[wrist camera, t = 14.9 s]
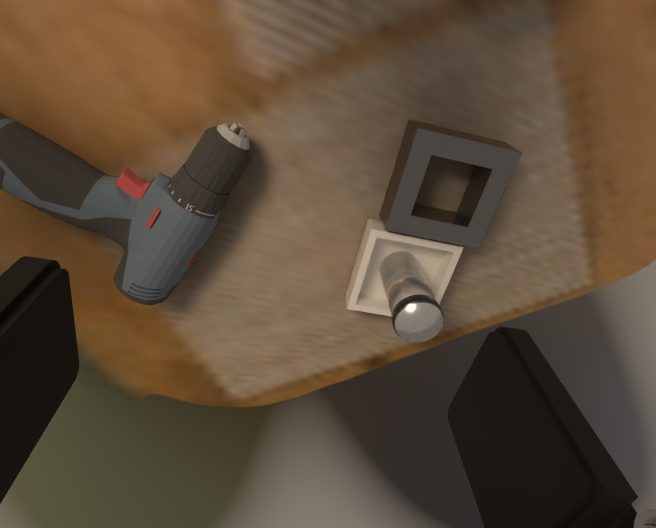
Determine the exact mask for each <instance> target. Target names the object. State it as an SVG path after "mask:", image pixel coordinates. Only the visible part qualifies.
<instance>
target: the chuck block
mask: <svg viewBox="0 0 656 528" xmlns="http://www.w3.org/2000/svg"><path fill="white" fill-rule="evenodd" d="M521 154H522V152H520V151H519V150H517V149H515V148H514V147H512V146H510V145H509V144H507V143H505V142H501V141H497V140H493V139H489V138H485V137H480V136H476V135H472V134H468V133H464V132H459V131H455V130H451V129H447V128H443V127H439V126H434V125H430V124H426V123H422V122H418V121H413V120H409V122H408V125H407V128H406V131H405V134H404V138H403V141H402V144H401V147H400V151H399V154H398V157H397V160H396V163H395V167H394V170H393V173H392V176H391V180H390V183H389V186H388V189H387V192H386V196H385V199H384V202H383V205H382V209H381V212H380V218H381V220H382V223H383V226H384V229H385V230H388V231H393V232H398V233H403V234H408V235H413V236H418V237H423V238H428V239H433V240H438V241H443V242H448V243H453V244H458V245H463V246H468V247H473V248H478V249H479V247H480V245H481V243H482V240H483V238H484V236H485V234H486V232H487V229H488V227H489V225H490V223H491V220H492V218H493V216H494V214H495V212H496V209H497V207H498V205H499V203H500V200H501V198H502V196H503V194H504V192H505V189H506V187H507V185H508V183H509V180H510V178H511V176H512V174H513V172H514V169H515V167H516V165H517V163H518V160H519V158H520V156H521ZM431 155H433V156H438V157H442V158H446V159H451V160H455V161H460V162H464V163H468V164H473V165H476V166H475V168H474V171H473V173H472V176H471V178H470V181H469V183H468V186H467V188H466V191H465V193H464V196H463V198H462V201H461V203H460V205H459V208H458V210H457V213H456V212H452V211H447V210H442V209H437V208H433V207H428V206H423V205H418V204H415V201H416V198H417V196H418V193H419V190H420V187H421V184H422V181H423V178H424V175H425V173H426V170H427V167H428V164H429V161H430V158H431Z"/></svg>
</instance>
